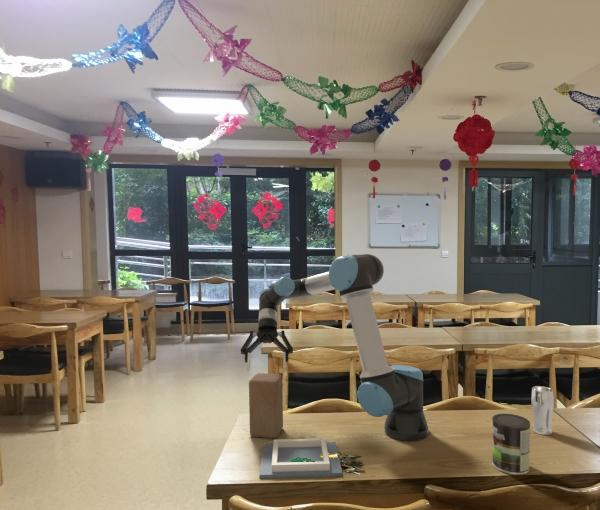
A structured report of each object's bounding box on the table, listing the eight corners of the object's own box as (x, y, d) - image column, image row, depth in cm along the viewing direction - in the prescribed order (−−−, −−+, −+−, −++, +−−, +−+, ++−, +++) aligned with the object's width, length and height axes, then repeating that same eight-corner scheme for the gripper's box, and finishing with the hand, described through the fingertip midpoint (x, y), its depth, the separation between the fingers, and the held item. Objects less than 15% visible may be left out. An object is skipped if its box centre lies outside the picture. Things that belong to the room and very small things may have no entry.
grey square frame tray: (335, 444, 154) (335, 436, 154) (342, 476, 134) (342, 465, 134) (263, 446, 153) (263, 437, 153) (259, 478, 133) (259, 468, 133)
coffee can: (503, 476, 132) (503, 427, 132) (485, 459, 143) (485, 414, 142) (537, 474, 133) (537, 426, 133) (517, 457, 144) (517, 412, 143)
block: (276, 439, 159) (275, 382, 158) (249, 437, 161) (247, 380, 160) (283, 427, 169) (282, 373, 168) (257, 425, 171) (256, 372, 170)
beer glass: (532, 433, 160) (532, 391, 159) (530, 426, 166) (530, 385, 166) (554, 436, 157) (555, 393, 157) (552, 428, 164) (552, 387, 163)
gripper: (298, 326, 191) (299, 373, 177) (237, 328, 191) (234, 374, 176) (298, 316, 186) (299, 363, 171) (236, 317, 185) (232, 365, 171)
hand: (266, 369), depth 174 cm, fingers open, 13 cm apart
